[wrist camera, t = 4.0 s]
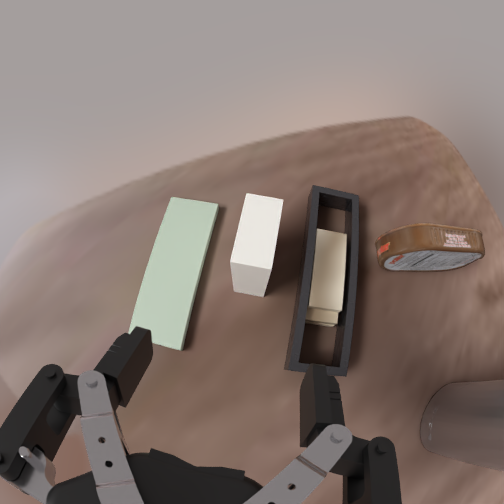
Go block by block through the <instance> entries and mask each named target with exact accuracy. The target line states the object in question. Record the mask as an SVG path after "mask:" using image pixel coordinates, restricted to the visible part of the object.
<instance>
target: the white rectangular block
mask: <svg viewBox="0 0 504 504" xmlns="http://www.w3.org/2000/svg"><path fill="white" fill-rule="evenodd" d="M282 205H283V200H282V199H276V198H271V197H266V196H260V195H254V194H248V193H247V194H246V198H245V202H244V206H243V210H242V214H241V218H240V222H239V227H238V231H237V235H236V239H235V243H234V248H233V252H232V256H231V260H230V264H231V272H232V280H233V288H234V291H235V292H240V293H245V294H250V295H255V296H261V297H264V294H265V290H266V287H267V284H268V280H269V277H270V273H271V270H272V265H273V259H274V253H275V247H276V241H277V235H278V229H279V223H280V217H281V211H282Z"/></svg>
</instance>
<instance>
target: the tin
mask: <svg viewBox="0 0 504 504" xmlns="http://www.w3.org/2000/svg"><path fill="white" fill-rule="evenodd" d="M375 246H376V249H377V257H378V263H379V265H380V267H381V268H383V269H385V270H389V271H447V270H453V269H458V268H461V267H464V266H466V265H468V264H469V263H472V262H474V261H476V260H478V259H481V258H483V257H484V255H485V248H484V243H483V239H482V232H481V231H479V230H476V229H470V228H463V227H455V226H447V225H440V224H432V223H419V224H411V225H406V226H402V227H398V228H395V229H392V230H390V231H388V232H386V233H384V234H383V235H381V236H380V237H379V238H378V239H377V240H376V242H375Z"/></svg>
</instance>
